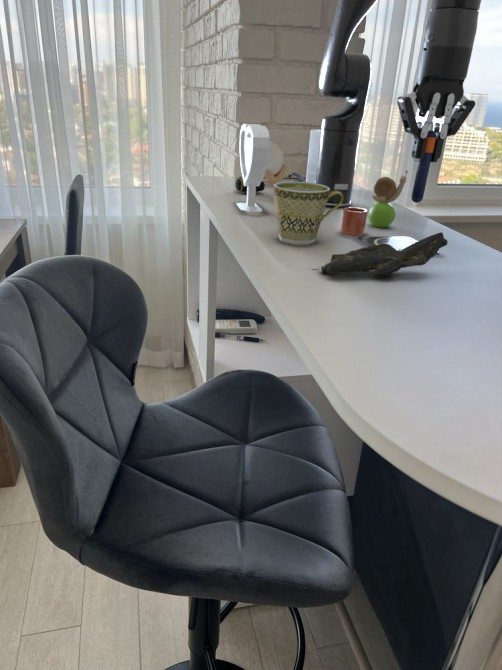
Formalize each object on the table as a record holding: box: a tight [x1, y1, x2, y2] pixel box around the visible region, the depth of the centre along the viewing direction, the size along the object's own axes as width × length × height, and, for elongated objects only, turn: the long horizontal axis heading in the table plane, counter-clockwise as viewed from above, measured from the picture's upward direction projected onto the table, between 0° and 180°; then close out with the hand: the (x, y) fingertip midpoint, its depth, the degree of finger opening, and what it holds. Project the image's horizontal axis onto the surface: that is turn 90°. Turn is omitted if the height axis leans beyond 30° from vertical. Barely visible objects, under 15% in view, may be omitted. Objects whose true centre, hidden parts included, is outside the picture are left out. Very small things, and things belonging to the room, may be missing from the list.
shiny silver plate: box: [356, 235, 440, 255], centre depth 94 cm, size 11×11×1 cm
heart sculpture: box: [235, 123, 271, 213], centre depth 113 cm, size 16×5×18 cm, turn 11°
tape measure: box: [234, 176, 266, 195], centre depth 134 cm, size 7×7×4 cm
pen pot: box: [340, 206, 369, 237], centre depth 99 cm, size 4×5×5 cm
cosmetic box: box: [305, 128, 322, 183], centre depth 145 cm, size 8×7×16 cm
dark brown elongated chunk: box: [320, 231, 449, 279], centre depth 78 cm, size 6×6×20 cm
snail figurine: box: [367, 169, 409, 229], centre depth 104 cm, size 5×6×12 cm
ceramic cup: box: [273, 180, 344, 245], centre depth 92 cm, size 13×10×10 cm
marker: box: [410, 129, 436, 204], centre depth 87 cm, size 2×2×12 cm
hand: (424, 161), depth 86 cm, fingers closed on marker, 2 cm apart
